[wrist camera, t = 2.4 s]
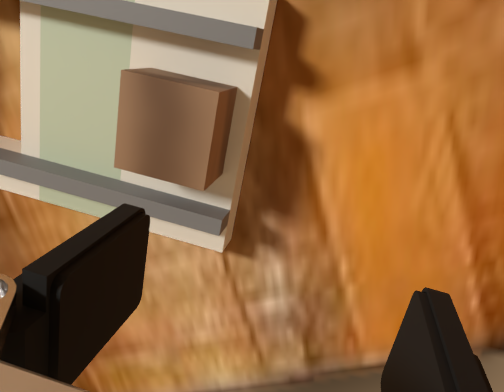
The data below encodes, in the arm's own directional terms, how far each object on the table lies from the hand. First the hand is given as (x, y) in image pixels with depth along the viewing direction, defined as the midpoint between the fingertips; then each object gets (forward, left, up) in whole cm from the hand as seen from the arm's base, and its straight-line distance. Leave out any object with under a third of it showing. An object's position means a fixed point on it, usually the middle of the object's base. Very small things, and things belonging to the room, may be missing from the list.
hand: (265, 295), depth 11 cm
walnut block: (+9, 0, -17) cm, 20 cm away
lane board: (+18, 0, -20) cm, 27 cm away
